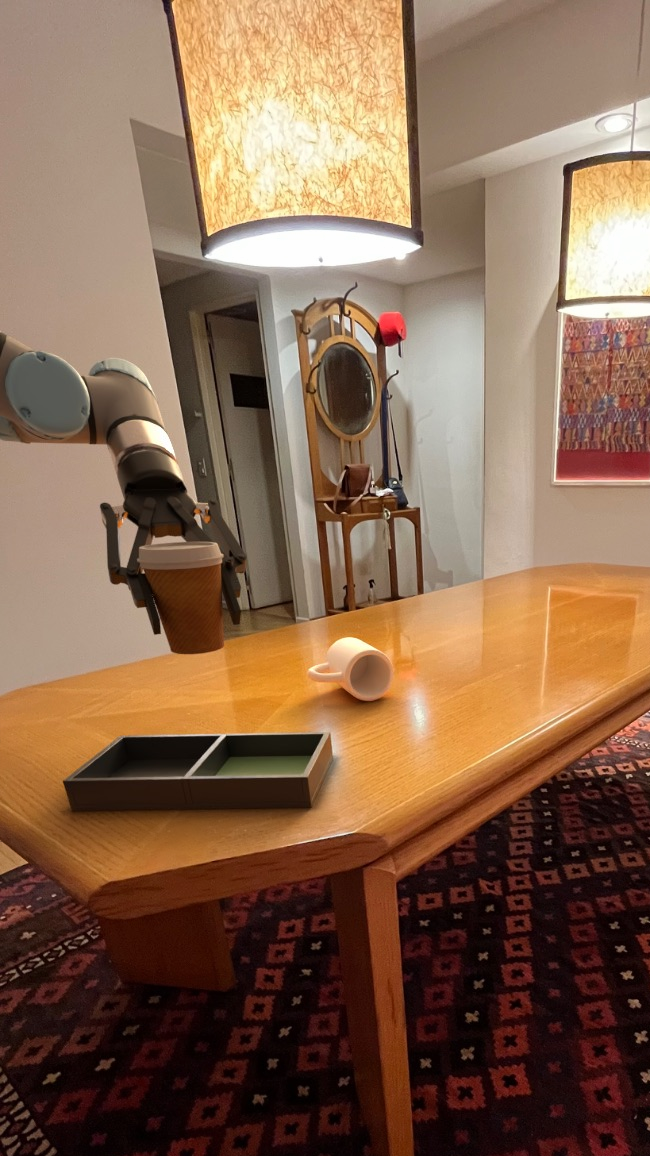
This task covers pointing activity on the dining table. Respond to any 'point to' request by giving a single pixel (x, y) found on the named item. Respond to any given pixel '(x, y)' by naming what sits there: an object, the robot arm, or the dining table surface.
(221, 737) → the caddy
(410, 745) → the dining table surface
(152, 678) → the dining table surface
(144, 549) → the disposable coffee cup
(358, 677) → the mug
